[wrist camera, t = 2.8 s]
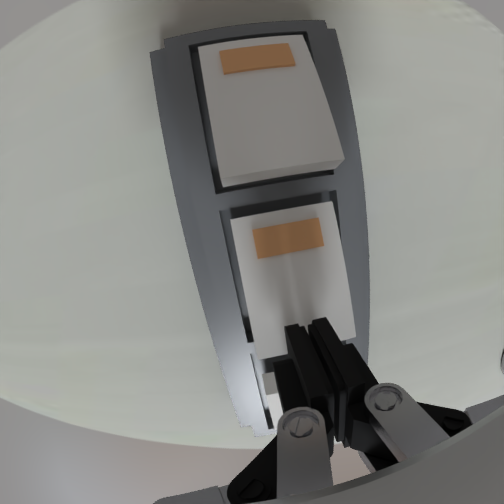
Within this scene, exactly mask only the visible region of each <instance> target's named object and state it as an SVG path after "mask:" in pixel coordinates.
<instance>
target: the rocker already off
mask: <svg viewBox="0 0 504 504" xmlns="http://www.w3.org/2000/svg"><path fill="white" fill-rule="evenodd" d="M262 378H263V383H264V388H265V394H266V398H267V402H268V406H269V410H270V414H271V418H272V421H273V425H274V429H275V430H277V425H278V420H279V419H280V417H281V416H282V415H283V411H282V407H281V403H280V398H279V394H278V390H277V385H276V380H275V375H274V372H271V373H266V374H262Z"/></svg>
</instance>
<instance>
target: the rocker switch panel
mask: <svg viewBox="0 0 504 504" xmlns="http://www.w3.org/2000/svg"><path fill="white" fill-rule="evenodd" d="M287 35H303V37H304V40H305V42H306V45H307V47H308V50H309V52H310V55H311V57H312V60H313V63H314V65H315V68H316V71H317V73H318V76H319V79H320V82H321V84H322V87H323V90H324V93H325V96H326V99H327V102H328V105H329V108H330V111H331V114H332V117H333V120H334V124H335V127H336V130H337V133H338V137H339V140H340V144H341V147H342V151H343V154H344V158H345V159H344V161H343V162H342V163H341V164H340V165H339V166H338V167H337V168H336V169H330V170H322V171H315V172H308V173H302V174H295V175H289V176H283V177H277V178H271V179H265V180H259V181H253V182H248V183H242V184H237V185H232V186H227V187H223V185H222V182H221V179H220V173H219V168H218V162H217V157H216V151H215V145H214V140H213V134H212V128H211V123H210V117H209V111H208V105H207V99H206V93H205V87H204V81H203V75H202V69H201V63H200V57H199V50H198V47H200V46H206V45H211V44H217V43H223V42H229V41H236V40H244V39H252V38H261V37H272V36H287ZM164 44H165V48H164V49H160V50H156V51H153V52H150V58H151V65H152V72H153V79H154V86H155V92H156V98H157V104H158V110H159V116H160V122H161V128H162V133H163V138H164V144H165V149H166V154H167V159H168V164H169V169H170V174H171V179H172V184H173V188H174V193H175V197H176V202H177V206H178V211H179V215H180V220H181V224H182V228H183V232H184V237H185V241H186V245H187V249H188V253H189V257H190V261H191V265H192V269H193V272H194V276H195V280H196V284H197V288H198V291H199V295H200V299H201V302H202V306H203V309H204V313H205V316H206V320H207V323H208V327H209V330H210V334H211V337H212V340H213V344H214V347H215V350H216V354H217V357H218V360H219V363H220V367H221V370H222V373H223V376H224V379H225V382H226V385H227V388H228V391H229V394H230V397H231V400H232V403H233V406H234V409H235V412H236V415H237V418H238V421H239V424H240V427H246V426H252V429H253V432H254V436H255V437H258V436H264V435H269V434H275V433H277V430H275V429H274V425H273V421H272V418H271V414H270V410H269V406H268V402H267V398H266V394H265V388H264V383H263V378H262V374H266V373H271V372H274V370H273V364H272V362H276V361H281V360H285V359H289V358H288V354H285V355H280V356H275V357H271V358H265V359H260V360H258V358H257V353H256V348H255V344H254V339H253V334H252V329H251V324H250V319H249V314H248V309H247V304H246V299H245V294H244V289H243V284H242V279H241V274H240V269H239V263H238V258H237V253H236V248H235V243H234V237H233V232H232V227H231V222H230V219H235V218H241V217H246V216H251V215H256V214H262V213H267V212H273V211H278V210H284V209H289V208H295V207H301V206H306V205H312V204H318V203H324V202H330V201H332V202H333V207H334V211H335V216H336V220H337V225H338V230H339V235H340V240H341V245H342V250H343V255H344V261H345V266H346V272H347V278H348V284H349V290H350V296H351V303H352V310H353V317H354V324H355V331H356V337H354V338H350V339H347V340H343V341H341V342H342V344H343V345H346V344H349V343H353V344H354V346H355V347H356V349H357V350H358V352H359V353H360V355H361V356H362V358H363V360H364V361H365V363H366V364H367V365H368V347H369V317H370V277H369V246H368V228H367V214H366V201H365V191H364V181H363V172H362V164H361V156H360V149H359V142H358V135H357V128H356V122H355V116H354V111H353V105H352V100H351V95H350V90H349V85H348V80H347V75H346V71H345V66H344V62H343V58H342V54H341V50H340V46H339V42H338V38H337V34H336V30H335V29H327V26H326V22H325V20H299V21H276V22H263V23H252V24H243V25H235V26H228V27H222V28H215V29H210V30H204V31H199V32H194V33H189V34H185V35H180V36H176V37H172V38H168V39H164Z"/></svg>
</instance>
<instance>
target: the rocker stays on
mask: <svg viewBox="0 0 504 504" xmlns="http://www.w3.org/2000/svg"><path fill="white" fill-rule="evenodd" d="M198 50H199V57H200V63H201V69H202V75H203V81H204V87H205V93H206V99H207V105H208V111H209V117H210V123H211V128H212V134H213V140H214V145H215V151H216V157H217V162H218V168H219V173H220V179H221V182H222V185H223V187H227V186H232V185H237V184H242V183H248V182H253V181H259V180H265V179H271V178H277V177H283V176H289V175H295V174H302V173H308V172H315V171H322V170H330V169H336V168H337V167H338V166H339V165H340V164H341V163H342V162H343V161H344V159H345V158H344V154H343V151H342V147H341V144H340V140H339V137H338V133H337V130H336V127H335V124H334V120H333V117H332V114H331V111H330V108H329V105H328V102H327V99H326V96H325V93H324V90H323V87H322V84H321V82H320V79H319V76H318V73H317V71H316V68H315V65H314V63H313V60H312V57H311V55H310V52H309V50H308V47H307V45H306V42H305V40H304V37H303V35H287V36H272V37H261V38H252V39H244V40H236V41H229V42H223V43H217V44H211V45H206V46H200V47H198Z"/></svg>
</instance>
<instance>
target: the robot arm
mask: <svg viewBox="0 0 504 504" xmlns="http://www.w3.org/2000/svg"><path fill="white" fill-rule="evenodd" d="M284 330H285V337H286V344H287V351H288V358H289V359H285V360H281V361H276V362H272V364H273V370H274V375H275V380H276V385H277V390H278V394H279V398H280V403H281V407H282V411H283V415H282V416H281V417H280V419H279V420H278V425H277V435H276V436H275V438H274V439H273V440H272V441H271V442H270V443H269V444H268V445H267V446H266V447H265V448H264V449H263V450H262V452H260V453H259V455H257V457H256V458H255V459H254V460H253V461H252V462H251V463H250V464H249V465H248V466H247V467H246V468H245V469H244V470H243V471H242V472H240V473H239V474H238V475H237V476H236V477H235V478H234V479H233V480H232V482H231V483H230V484H229V485H226V486H222V487H218V486H214V487H210V488H206V489H202V490H198V491H194V492H190V493H185V494H181V495H176V496H171V497H166V498H162V499H159V500H157V501H156V502H155V503H153V504H504V395H502V396H499V397H497V398H494V399H491V400H489V401H486V402H483V403H480V404H477V405H474V406H471V407H468V408H466V409H465V411H464V412H462V411H459V410H456V409H450V408H445V407H439V406H434V405H429V404H424V403H419V402H416V401H415V400H414V399H413V398H412V397H411V396H410V395H409V394H408V393H407V392H406V391H405V390H404V389H403V388H402V387H400V386H399V385H396V384H393V383H380V384H379V383H378V382H377V380H376V379H375V377H374V375H373V374H372V372H371V371H370V369H369V367H368V366H367V364H366V363H365V361H364V360H363V358H362V356H361V355H360V353H359V352H358V350H357V349H356V347H355V346H354V344H353V343H349V344H346V345H343V344H342V342H341V341H340V339H339V337H338V336H337V334H336V332H335V331H334V329H333V327H332V326H331V324H330V322H329V321H328V319H327V318H326V317H323V318H318V319H314V320H312V324H309V325H308V333H307V331H306V328H305V326H299V324H298V323H297V324H293V325H288V326H284ZM501 370H502V373H503V374H504V354H503V358H502V363H501ZM334 436H335V439H336V441H337V442H340V441H342V443H343V445H344V448H346V447H349V446H350V448H352V449H355V450H358V453H359V456H360V458H361V459H362V460H363V462H364V463H365V465H366V466H367V468H368V469H369V471H370V472H371V474H368V475H365V476H363V477H360V478H357V479H354V480H351V481H347V482H344V483H341V484H337V485H334V486H333V480H332V471H331V464H330V457H331V456H332V454H333V447H334Z"/></svg>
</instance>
